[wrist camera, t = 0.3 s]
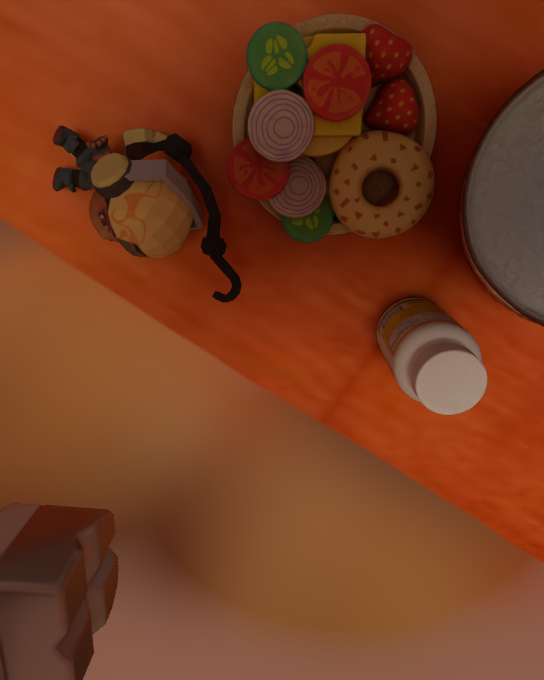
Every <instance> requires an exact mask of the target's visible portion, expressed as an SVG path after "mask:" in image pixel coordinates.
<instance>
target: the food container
mask: <svg viewBox="0 0 544 680" xmlns="http://www.w3.org/2000/svg"><path fill="white" fill-rule="evenodd" d="M480 137H481V136H480ZM459 217H460V231H461V233H460V234H461V239H462V244H463V245H462V246H463V249H464V253H465V256H466V258H467V259H468V262H469V263H470V265H471V269H473V271H474V272H475V273H476V275H477V277H478V279H479V280H480V281H481V282H482V283H483V284H484V286H485V287H486V290H487V291H488V292H490V293H491V294H492V295H493V297H495V299H496V301H498V302H499V303H501V304H504V306H505V307H506V308H507V309H509V310H510V311H512V312H513V311H514V313H516V314H517V315H519V317H521V318H523V319H525V318H526V320H528V321H531V322H533V323H538V324H540V325H542V326H544V70H542V71H541V72H539V73H538V74H537V75H535V76H534V77H532V78H531V79H530V80H529V81H528V82H527V83H525V84H524V85H523V86H522V87H521V88H520V89H518V90H517V91H516V92H515V93H514V94H513V95H512V96H511V98H510V99H509V100H508V101H507V102H506V103H505V104H504V105H503V106H502V107H501V109H500V110H499V111H498V112H497V114H496V115H495V116H494V118H493V119H492V121H491V122H490V124H489V125H488V127H487V129H486V130H485V132H484V134H483V135H482V137H481V139H480V141H479V142H478V144H477V147H476V149H475V151H474V154H473V156H472V158H471V161H470V164H469V166H468V169H467V171H466V174H465V179H464V182H462V193H461V195H460V206H459Z"/></svg>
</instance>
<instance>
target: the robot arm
mask: <svg viewBox="0 0 544 680" xmlns="http://www.w3.org/2000/svg"><path fill="white" fill-rule="evenodd" d="M114 534H115V525H114V515H113V513H112V512H111V511H109V510H106V509H93V508H80V507H66V506H55V505H45V506H43V505H36V504H21V503H12V504H10V505H7V506H5V507H3V508H2V510H1V511H0V680H83V677H84V675H85V672H86V670H87V668H88V665H89V663H90V661H91V658H92V656H93V653H94V648H93V638H92V635H93V634H94V633H95V632H96V631H98V630H99V629H100V628H101V627H103V626H104V625H105V624H106V622H107V619H108V617H109V614H110V612H111V609H112V606H113V602H114V598H115V593H116V589H117V580H118V557H117V555H116V554H115V553H114V552H113V551H112V550H111V548H110V547H109V545H110V543H111V541H112V539H113V537H114Z"/></svg>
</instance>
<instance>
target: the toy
mask: <svg viewBox="0 0 544 680" xmlns="http://www.w3.org/2000/svg"><path fill="white" fill-rule="evenodd" d="M123 138H124V143H125V148H126V156H125V155H122V154H118V153H112V152H111V150H110V148H109V147H108V137H107V136H106V135H105V136H101V137H100V138H98V139H97V140H95V141H93V142H91V143H90V142H88V141H86V142H85V141H83V140H82V139H81V138H79V134H77V133H76V132H74V131H72V130H70V129H68V128H66V127H64V126H59V127H58V129H57V130H56V132H55V134H54V138H53V143H54V144H56V145H59V146H62V147H63V148H64V149H65V150H66V151H67V152H68V153H72V154H73V155H74V156H75V157H76V165H77V166H78V167H79V168H81V170H73V169H70V168H61V167H60V168H57V169H56V171H55V174H54V178H53V189H54V190H55V191H60V190H61V189H63V188H64V187H68V188H69V189H70V190H71V191H72V192H76V189H75V187H79V188H81V189H83V190H84V191H87V190H89V189H95V190H96V191H95V192H94V193H93V196H92V199H91V202H90V210H89V212H90V218H91V221H92V223H93V225H94V227H95V228H96V229H97V231H98V232H99V234H100V236H101V237H102V238H103V239H109V240H110V241H116V242H119V243H120V244H121V245H122V246H123V247H124V248H125V249H126V250H127V251H128V252H130V253H131V254H132V255H134V256H139V257H145V258H150V259H160V258H164V257H167V256H169V255H171V254H173V253H175V252H176V251H178V250H180V248H181V246H182V245H183V243H184V241H185V239H186V238H187V236H188V234H189V231H192V230H196V229H200V228H203V220H202V211H201V208H200V205H199V203H198V200H197V198H196V196H195V194H194V193H193V191H192V189H191V187H190V186H189V185H188V181H187V178H186V177H184V176H183V175H182V167H181V164H182V166H183V167H184V168H185V169H186V171H187V172H188V173H189V175H190V176H191V177H192V179H193V180H194V182H195V183H196V185H197V186H198V188H199V189H200V191H201V193H202V196H203V199H204V202H205V204H206V207H207V210H208V213H209V220H208V228H207V236H206V237H204V238H203V240H202V243H201V248H202V251H203V253H204V254H207V255H209V256H210V258H211V259H212V260H213V261H214V263H215V264H216V265H217V266H218V267H219V268H220V269H221V270H222V272H223V273H224V274H225V275H226V276H227V277H228V278H229V279H230V281H231V283H232V288H231V290H230V292H229V293H228V294H226V295H224V294H222V293H220V292H217V291H215V292H214V294H213V295H212V297H214V298H215V299H216V300H219V301H221V302H230V301H233V300H234V299H235V298H236V297H237V296H238V295H239V294H240V290H241V286H242V284H241V281H240V277H239V276H238V274H237V273H236V272H235V271H234V270H233V268H232V267H231V266H230V265H229V264H228V263H227V261H226V260H225V259H224V258H223V257H222V255H223V254H225V250H226V247H227V246H226V243H225V241H224V239H222V238H220V224H221V215H220V212H219V209H218V206H217V203H216V200H215V197H214V194H213V191H212V188H211V187H210V185H209V184H208V183H207V181H206V180H205V179H204V177H203V176H202V175H201V173H200V172H199V171H198V169H197V168H196V167H195V165H194V164H193V162H192V161H191V160H190V157H191V155H192V147H191V144H190V143H188V142H187V141H186V140H184V139H183V138H181V137H180V136H178V135H177V134H172V135H169V136H166V135H164V134H162V133H160V132H159V131H152V130H151V129H146V128H139V129H131V130H128V131H126V132H123Z"/></svg>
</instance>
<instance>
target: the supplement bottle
mask: <svg viewBox="0 0 544 680" xmlns="http://www.w3.org/2000/svg"><path fill="white" fill-rule="evenodd" d="M377 342H378V345H379V348H380V350H381V352H382V354H383V356H384V358H385V360H386V362H387V363H388V365H389V367H390V369H391V372H392V373H393V375H394V378H395V380H396V382H397V383H398V385H399V386H400V388H401V389H402V390H403V391H404V392H405V393H406V394H407V395H408V396H409V397H411V398H412V399H414V400H416V401H419V402H421V403H422V404H423V405H424V406H425V407H426V408H428V409H429V410H431V411H433V412H435V413H439V414H444V415H452V414H458V413H461V412H464V411H466V410H468V409H470V408H472V407H473V406H474V405H475V404H476V403H477V402H478V401H479V400H480V399H481V398H482V396H483V394H484V392H485V390H486V386H487V373H486V370H485V367H484V365H483V364H482V358H481V352H480V349H479V346H478V344H477V342H476V341H475V339H474V338H473V337H472V336H471V334H470V333H468V332H467V330H465V329H464V328H463V327H462V326H461V325H459V324H458V323H457V322H456V321H455V320H454V319H453V318H452V317H451V316H449V315H448V314H447V313H446V312H445V311H444V310H443V309H441V308H440V307H439V306H438V305H437V304H435V303H434V302H432V301H430V300H427V299H424V298H407V299H404V300H401V301H399V302H397V303H395V304H393V305H392V306H391V307H389V308H388V309H387V310H386V311H385V313H384V314H383V315H382V317H381V319H380V321H379V323H378V327H377Z"/></svg>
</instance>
